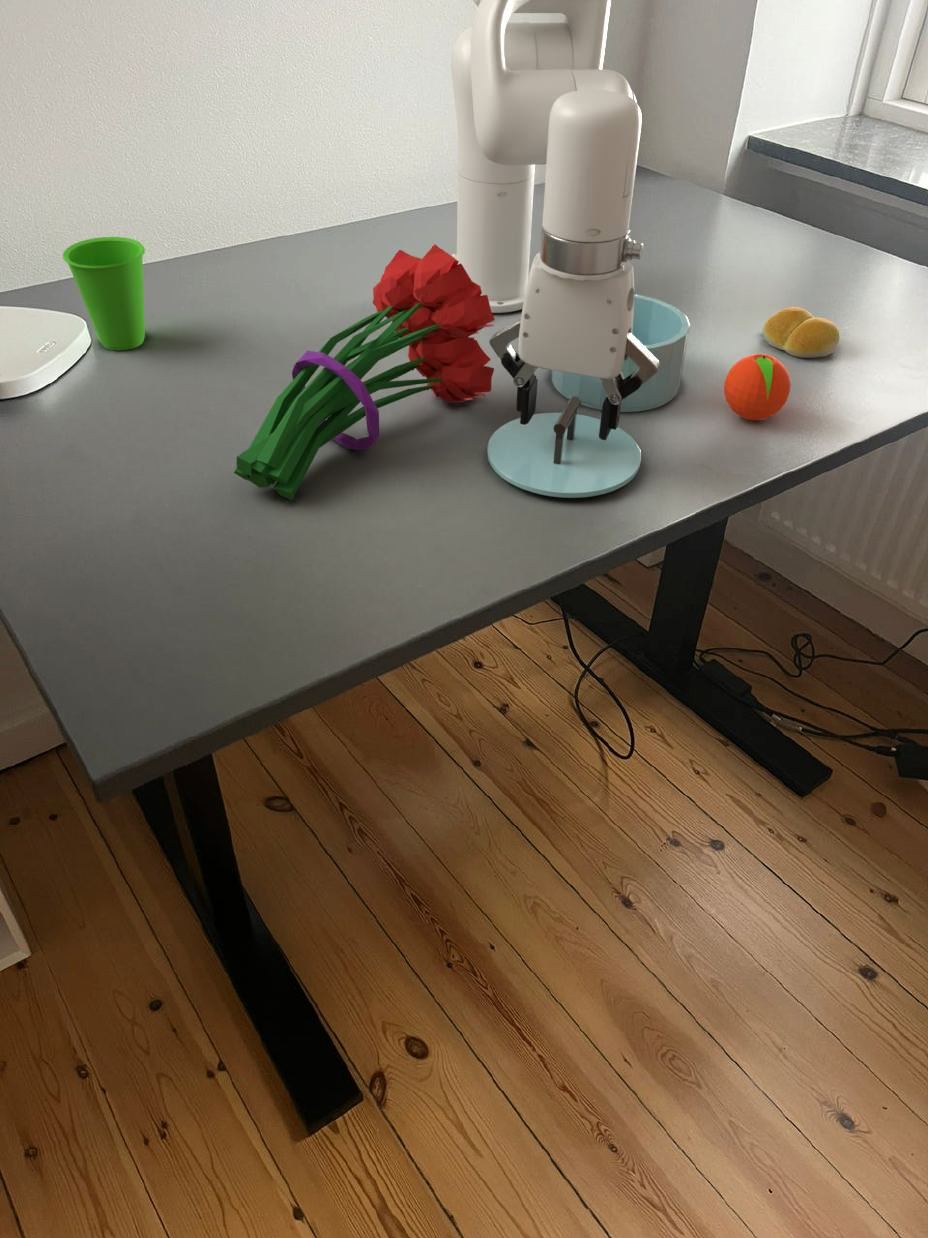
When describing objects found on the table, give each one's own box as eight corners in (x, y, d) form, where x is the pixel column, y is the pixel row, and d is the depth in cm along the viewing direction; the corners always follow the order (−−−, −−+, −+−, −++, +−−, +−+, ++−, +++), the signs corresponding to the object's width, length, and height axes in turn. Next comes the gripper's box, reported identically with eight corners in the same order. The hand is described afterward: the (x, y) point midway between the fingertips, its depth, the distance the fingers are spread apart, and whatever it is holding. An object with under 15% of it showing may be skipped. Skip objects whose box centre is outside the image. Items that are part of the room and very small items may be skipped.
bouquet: (225, 519, 105) (407, 363, 119) (340, 581, 98) (521, 407, 111) (159, 362, 90) (377, 203, 104) (290, 421, 82) (506, 242, 96)
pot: (536, 398, 113) (540, 335, 108) (570, 344, 124) (575, 284, 119) (665, 422, 110) (675, 358, 105) (688, 364, 120) (699, 303, 116)
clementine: (791, 437, 108) (807, 376, 103) (726, 436, 108) (739, 375, 103) (775, 401, 114) (789, 342, 109) (713, 399, 114) (725, 340, 109)
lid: (465, 484, 100) (467, 432, 96) (513, 411, 111) (515, 362, 107) (620, 516, 96) (628, 464, 92) (653, 438, 107) (661, 388, 103)
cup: (176, 341, 123) (160, 250, 115) (110, 365, 117) (89, 272, 110) (134, 319, 127) (116, 230, 120) (69, 341, 122) (46, 250, 115)
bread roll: (811, 366, 120) (820, 335, 118) (750, 341, 126) (757, 310, 123) (851, 347, 125) (859, 316, 122) (790, 323, 130) (797, 292, 127)
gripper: (688, 248, 90) (660, 424, 101) (502, 221, 94) (495, 393, 106) (672, 278, 84) (644, 461, 96) (476, 249, 89) (471, 427, 100)
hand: (566, 424), depth 101 cm, fingers open, 7 cm apart
